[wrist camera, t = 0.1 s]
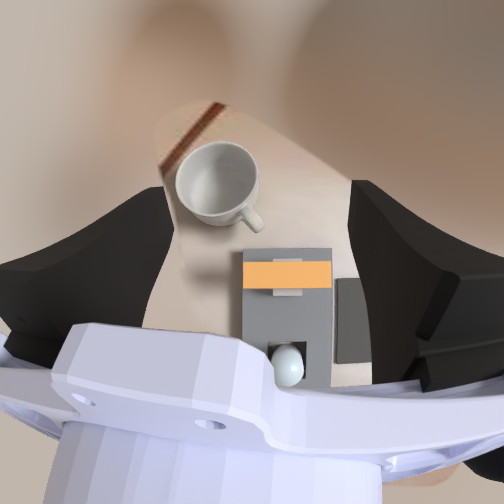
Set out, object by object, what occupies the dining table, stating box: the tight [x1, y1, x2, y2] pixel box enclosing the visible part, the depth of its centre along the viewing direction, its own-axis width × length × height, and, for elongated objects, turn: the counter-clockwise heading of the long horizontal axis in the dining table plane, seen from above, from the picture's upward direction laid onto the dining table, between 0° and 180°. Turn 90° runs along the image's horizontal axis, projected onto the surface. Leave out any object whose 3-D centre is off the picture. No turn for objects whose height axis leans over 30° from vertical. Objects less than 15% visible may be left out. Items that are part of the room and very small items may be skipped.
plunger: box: [243, 261, 332, 289], centre depth 36 cm, size 3×10×4 cm, turn 89°
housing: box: [242, 248, 333, 388], centre depth 39 cm, size 20×12×5 cm, turn 0°
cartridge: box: [271, 344, 304, 387], centre depth 37 cm, size 4×4×8 cm
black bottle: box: [462, 446, 504, 483], centre depth 21 cm, size 6×6×30 cm
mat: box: [336, 278, 372, 364], centre depth 40 cm, size 12×12×1 cm
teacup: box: [175, 141, 264, 233], centre depth 41 cm, size 14×11×8 cm
